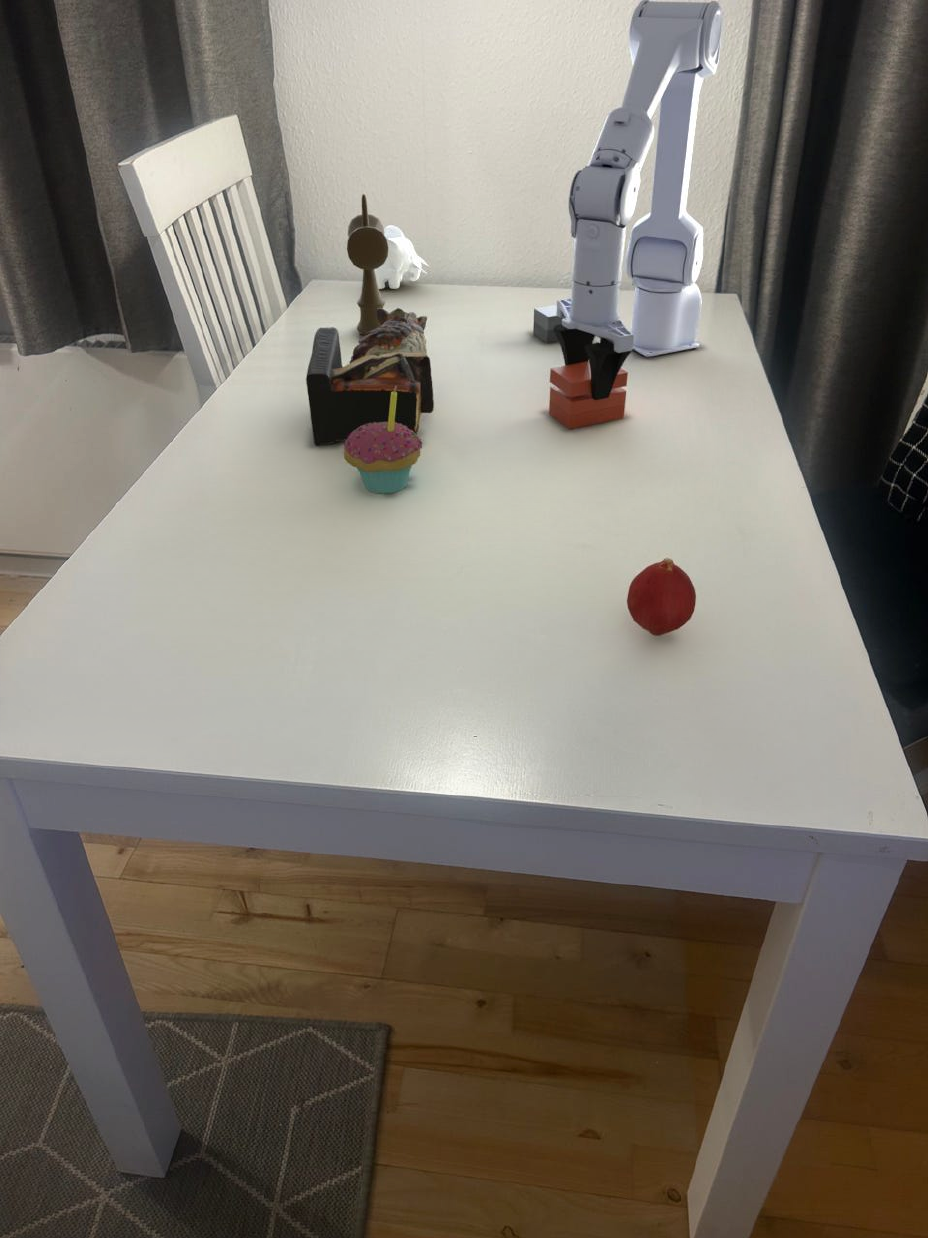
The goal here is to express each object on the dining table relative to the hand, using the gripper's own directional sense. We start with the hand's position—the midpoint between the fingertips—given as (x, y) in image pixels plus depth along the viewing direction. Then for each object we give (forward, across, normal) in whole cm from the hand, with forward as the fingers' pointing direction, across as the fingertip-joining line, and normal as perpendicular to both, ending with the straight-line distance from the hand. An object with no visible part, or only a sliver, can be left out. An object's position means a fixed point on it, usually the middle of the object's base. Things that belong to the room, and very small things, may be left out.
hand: (588, 389), depth 115 cm
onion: (+4, +42, -18) cm, 46 cm away
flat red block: (-1, 0, 0) cm, 1 cm away
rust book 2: (+2, 0, 0) cm, 2 cm away
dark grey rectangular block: (+3, -27, +12) cm, 30 cm away
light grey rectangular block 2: (+2, -27, +12) cm, 30 cm away
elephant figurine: (+4, -62, -2) cm, 62 cm away
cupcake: (+4, +6, -30) cm, 31 cm away
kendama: (+4, -41, -14) cm, 43 cm away
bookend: (+4, -15, -23) cm, 28 cm away
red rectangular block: (+4, 0, 0) cm, 4 cm away
